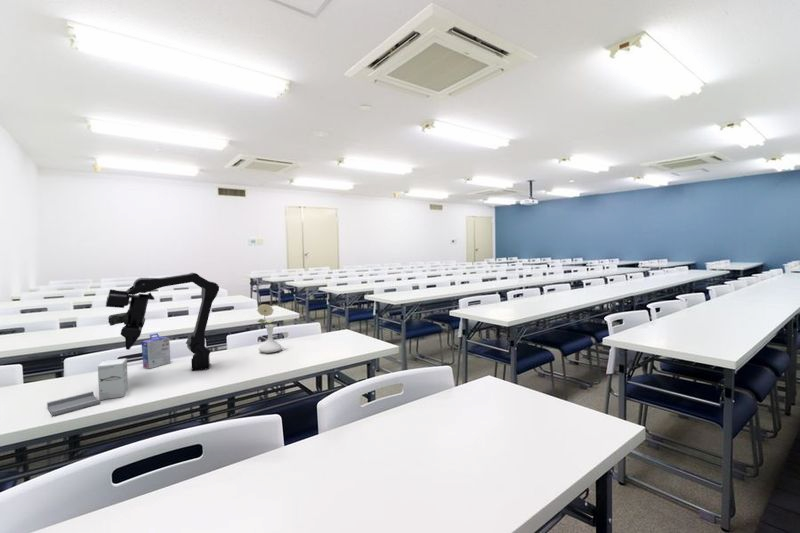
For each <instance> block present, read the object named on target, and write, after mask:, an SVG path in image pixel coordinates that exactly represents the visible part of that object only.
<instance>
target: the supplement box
mask: <svg viewBox="0 0 800 533" xmlns="http://www.w3.org/2000/svg"><path fill="white" fill-rule="evenodd" d="M97 378H98V399H100V401H102V400H107V399H109V400H110V399H113V398H114V399H115V398H122V397H125V395H126V393H127V392H128V388H129V387H128V386H129V385H128V384H129V382H128V380H129V378H128V358H126V357H125V358H117V359H116V358H115V359H108V360H107V359H106V360H103V361H101V362H100V363H99V365H97Z"/></svg>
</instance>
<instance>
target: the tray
mask: <svg viewBox="0 0 800 533" xmlns="http://www.w3.org/2000/svg"><path fill="white" fill-rule="evenodd" d="M94 394H95V393H94V390H93V391H89V392H84V393H80V394H76V395H73V396H72V395H71V396H69V397H64V398H60V399H56V400H52V401H47V402H46V408H47V410H48V411H49V412H50V415H51V416H54V417H56V416H60V415H64V414H67V413H72V412H76V411H79V410H82V409H87V408H91V407H94V406H97V405H101V400H100V399H99V398H97V397H96V396H95V395H94Z"/></svg>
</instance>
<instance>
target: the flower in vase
mask: <svg viewBox="0 0 800 533" xmlns="http://www.w3.org/2000/svg"><path fill="white" fill-rule="evenodd" d="M256 311H257V312H258V314H259V315H260V316H264V319H263V318H260V319H259V320H258V321H257V323H260V324H261V323H262V324H263V323H266V324H265V325H264V327H265V328H266V331H267V339H266V341H265V342H263V343H262V344H261V345H260V346H259V347H258V351H259V352H261V353H267V354H269V353H276V352H279V351H280V350H281V349H282V348H283V346H282V345H281V344H280V343H279V342H277V341H276V340H275V339H274V337H273V332H274V331H273V330H274V327H275V326H276V325H275V324H270V323H273V321H275V318H273V319H271V320H269V321H267V320H266V317H268V316H271V315H273V313H274V309H273V306H272V305H269V304H260V305H258V307H257V310H256Z"/></svg>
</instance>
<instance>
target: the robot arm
mask: <svg viewBox="0 0 800 533" xmlns="http://www.w3.org/2000/svg"><path fill="white" fill-rule="evenodd" d="M189 283H193V284H195V285H196V286H198V287H199V288H201V292H200V295H201V303H200V305H199V306H200V307H199V311H198V314H197V318H196V323H195V326H194V330H193V332H192V333H191V334H187V340H186V342H185V344H186V347H187V349H188V350H189V351H190V352H191V353H192V354H193V355H192V357H191V361H190V362H191V370H192V371H193V372H194V371H200V370H209V368H210V367H211V363H210V362H211V360H210V358H211V357H210V353H211V350H210V349H209V348H208V347H206V336H205V335H206V329H207V325H208V321H209V317H210V314H211V308H212V305H213V302H214V301H215V299H216V298H217V295H218V293H219V292H220V286H219V284H217V283H216V282H213V281H210V280H207V279H205V278H204V277H202V276H200V275H199V274H198V273H195V272H190V273H185V274H179V275H178V274H177V275H171V276H165V277H158V278H157V277H140V278H137V279H136V280H134V282H133V283H132V286H131V287H129V288H127V290H117V289H111V288H110V289H109V292H108V296H106V301H105V308H106V307H107V308H117V309H119V308H122V309H124V308H125V307H127V306H128V305H129V307H128V309H127V311H126V312H121V313H120V312H119V313H116V314H110V315H109V316H108V318H107V320H108V323H109V326H114V325H118V324H119V325H120V324H123V325H124V326H122V328H121V330H120V336H121V337H123V338H124V339H125V341H124V342H125V350H126V351H127V350H129V351H130V349H131V348H132V347H133V346H134V344H135V343H136V341H137V340H138V339H139V338H140V336H141V334H142V330H143V327H144V325H145V322H146V312H147V306H148V303H149V301H150V300H152V301H155V297H154V295H153V294H152V292H153V291H155V290H158V289H160V288H165V287H171V286H175V285H176V286H177V285H181V284H182V285H183V284H189ZM129 302H130V303H129Z"/></svg>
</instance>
